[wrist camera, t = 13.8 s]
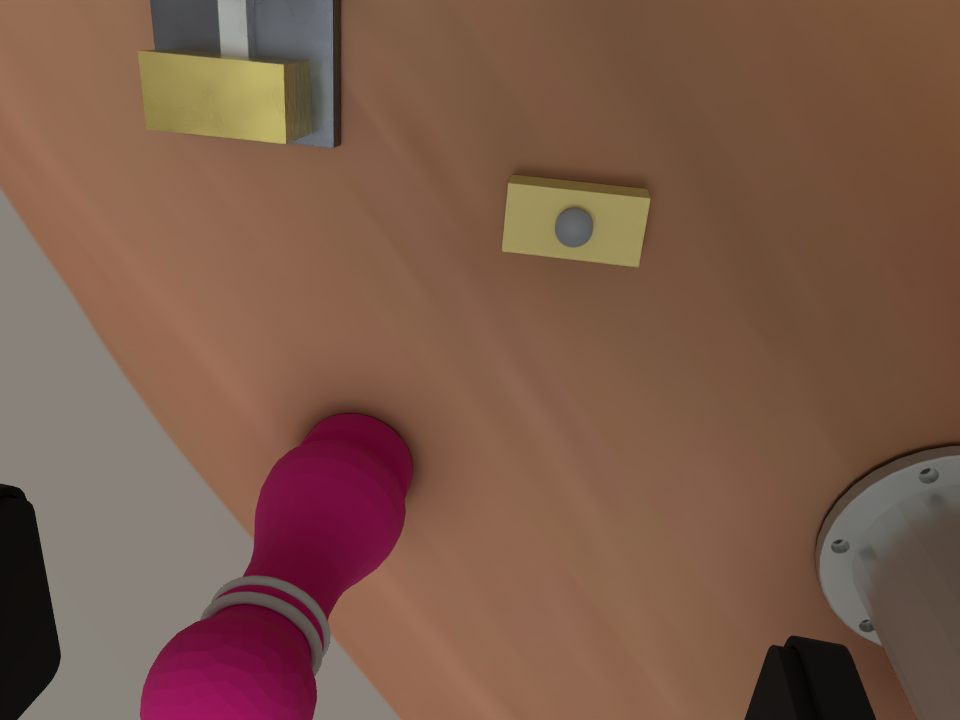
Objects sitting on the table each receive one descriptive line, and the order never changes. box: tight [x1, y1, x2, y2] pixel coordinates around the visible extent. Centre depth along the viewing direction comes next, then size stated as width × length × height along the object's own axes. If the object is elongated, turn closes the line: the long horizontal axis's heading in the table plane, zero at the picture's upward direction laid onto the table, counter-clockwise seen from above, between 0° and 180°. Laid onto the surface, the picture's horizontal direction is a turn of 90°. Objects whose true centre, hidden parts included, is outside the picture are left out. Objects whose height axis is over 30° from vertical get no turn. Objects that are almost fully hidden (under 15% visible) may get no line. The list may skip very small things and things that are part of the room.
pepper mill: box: [140, 414, 413, 720], centre depth 32 cm, size 7×7×20 cm
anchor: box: [502, 175, 651, 267], centre depth 32 cm, size 6×3×3 cm, turn 85°
